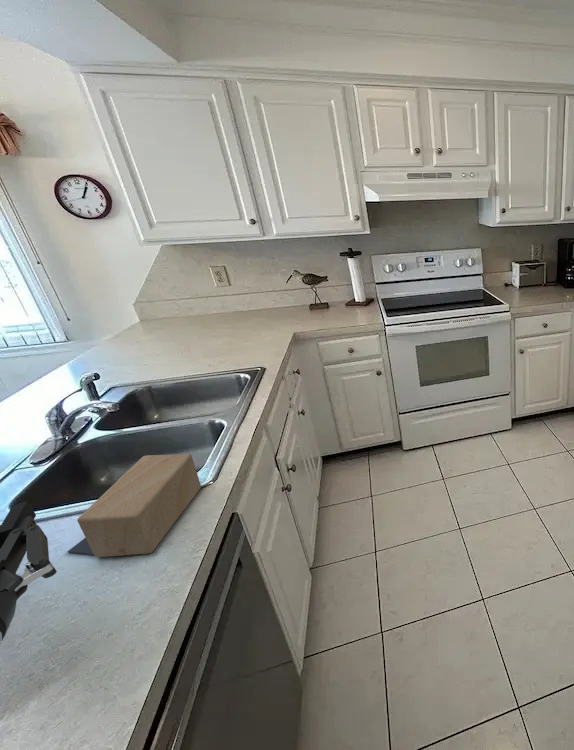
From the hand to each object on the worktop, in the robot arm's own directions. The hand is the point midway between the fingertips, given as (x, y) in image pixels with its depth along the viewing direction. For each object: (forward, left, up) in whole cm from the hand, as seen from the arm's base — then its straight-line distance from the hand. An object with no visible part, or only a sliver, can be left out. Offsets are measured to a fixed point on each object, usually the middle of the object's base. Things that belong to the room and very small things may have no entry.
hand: (24, 510), depth 61 cm
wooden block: (-4, +10, -17) cm, 20 cm away
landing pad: (-13, +14, -22) cm, 29 cm away
